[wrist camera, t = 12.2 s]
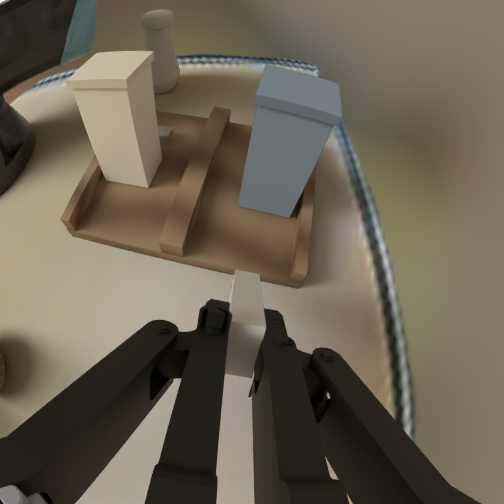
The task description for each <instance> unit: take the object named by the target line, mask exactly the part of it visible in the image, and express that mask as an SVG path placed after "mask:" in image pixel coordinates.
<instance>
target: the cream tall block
mask: <svg viewBox="0 0 504 504" xmlns="http://www.w3.org/2000/svg"><path fill="white" fill-rule="evenodd" d="M153 60H154V51H120V52H102V53H96V54H95V55H94V56H93V57H92V58H90V59H89V60H88V61H87V62H86V63H85V64H84V65H83V66H82V67H80V68H79V69H78V70H77V71H76V72H75V73H74V74H73V75H72V76H71V77H70V78H69V79H68V80H67V81H66V82H67V85H68V88H69V89H73V92H74V95H75V98H76V102H77V105H78V108H79V111H80V114H81V117H82V120H83V122H84V125H85V128H86V131H87V134H88V136H89V139H90V142H91V144H92V147H93V150H94V152H95V155H96V157H97V160H98V162H99V165H100V167H101V170H102V172H103V175H104V177H105V179H106V181H111V182H117V183H123V184H129V185H134V186H140V187H146V188H149V186H150V183H151V181H152V179H153V177H154V175H155V173H156V171H157V168H158V166H159V164H160V162H161V160H162V154H161V147H160V140H159V132H158V125H157V117H156V109H155V100H154V90H153V80H152V69H151V62H152V61H153Z"/></svg>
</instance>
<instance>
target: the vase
mask: <svg viewBox="0 0 504 504" xmlns="http://www.w3.org/2000/svg"><path fill="white" fill-rule="evenodd" d="M5 374H6V371H5V363H4V359H3V356H2V354H1V352H0V390H1V388H2V386H3V384H4V381H5Z"/></svg>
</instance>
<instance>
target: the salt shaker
mask: <svg viewBox="0 0 504 504" xmlns="http://www.w3.org/2000/svg"><path fill="white" fill-rule="evenodd" d="M173 22H174V14H173V13H172V12H171V11H170V10H154V11H150V12H148V13H146V14H144V16H143V17H142V18H141V26H142V28H143V30H146V33H145V40H144V48H143V51H154V60H153V61H152V62H151V69H152V80H153V90H154V94H159V93H166V92H168V91H169V90H171V89H173V88H174V86H175V84H176V82H177V80H178V78H179V74H180V69H179V65H178V62H177V58H176V54H175V51H174V47H173V43H172V39H171V35H170V31H169V27H170V26H172V24H173Z"/></svg>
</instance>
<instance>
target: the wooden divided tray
mask: <svg viewBox="0 0 504 504" xmlns="http://www.w3.org/2000/svg"><path fill="white" fill-rule="evenodd" d="M230 112H231V110H229V109H223V108H217V107H214V108H213V110H212V112H211V114H210V116H209V118H201V117H195V116H188V115H180V114H173V113H164V112H156V117H157V125H158V132H159V140H160V147H161V154H162V160H161V162H160V164H159V166H158V168H157V171H156V173H155V175H154V177H153V179H152V181H151V183H150V186H149V188H146V187H140V186H134V185H129V184H123V183H117V182H111V181H106V179H105V177H104V175H103V172H102V170H101V167H100V165H99V162H98V160H97V157H96V155H95V157H94V158H93V160H92V162H91V163H90V165H89V167H88V168H87V170H86V172H85V174H84V175H83V177H82V179H81V181H80V182H79V184H78V186H77V188H76V190H75V192H74V193H73V195H72V197H71V199H70V201H69V203H68V205H67V207H66V209H65V211H64V213H63V215H62V217H61V221H62V222H63V223H64V225H65V226H66V227H67V230H68V231H69V233H70V234H71V235H72V236H74V237H78V238H82V239H85V240H89V241H93V242H97V243H101V244H105V245H109V246H113V247H117V248H121V249H125V250H129V251H133V252H137V253H141V254H145V255H149V256H153V257H157V258H161V259H166V260H170V261H174V262H178V263H183V264H187V265H191V266H196V267H200V268H204V269H209V270H213V271H218V272H222V273H227V274H231V275H234V274H235V269H236V270H241V271H246V272H251V273H256V274H260V281H264V282H268V283H273V284H278V285H283V286H287V287H292V288H297V289H298V288H299V287H300V286H301V284H302V283H303V279H304V278H305V277H306V276H307V269H308V259H309V249H310V238H311V227H312V214H313V201H314V185H315V168H316V164H315V166H314V168H313V170H312V173H311V175H310V177H309V179H308V181H307V183H306V185H305V187H304V189H303V191H302V193H301V195H300V197H299V199H298V201H297V203H296V205H295V207H294V209H293V211H292V213H291V215H290V217H289V218H287V217H283V216H279V215H275V214H271V213H266V212H262V211H258V210H253V209H249V208H244V207H240V206H238V201H239V196H240V191H241V185H242V180H243V175H244V169H245V164H246V159H247V154H248V148H249V143H250V138H251V133H252V128H253V127H250V126H245V125H240V124H235V123H230V122H229V120H230Z"/></svg>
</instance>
